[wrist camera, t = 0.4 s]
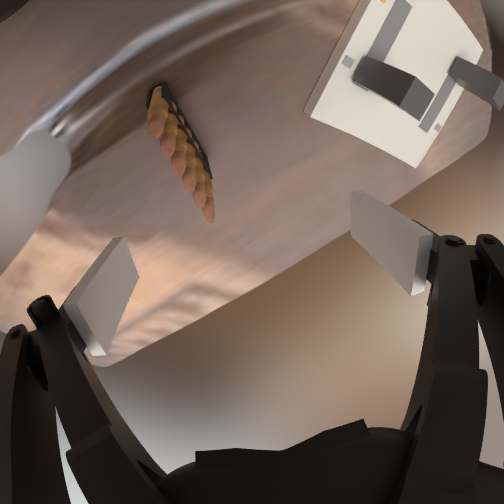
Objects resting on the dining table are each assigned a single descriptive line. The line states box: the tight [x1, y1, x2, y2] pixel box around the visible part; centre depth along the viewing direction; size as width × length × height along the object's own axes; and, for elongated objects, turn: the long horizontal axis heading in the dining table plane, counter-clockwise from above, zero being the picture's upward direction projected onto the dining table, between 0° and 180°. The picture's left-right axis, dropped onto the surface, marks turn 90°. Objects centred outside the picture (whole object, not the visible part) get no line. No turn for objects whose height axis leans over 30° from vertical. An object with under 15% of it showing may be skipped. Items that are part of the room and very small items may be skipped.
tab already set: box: [449, 57, 504, 110], centre depth 21 cm, size 4×4×8 cm
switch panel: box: [303, 0, 483, 168], centre depth 25 cm, size 26×22×2 cm
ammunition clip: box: [146, 82, 215, 224], centre depth 23 cm, size 11×2×12 cm, turn 20°
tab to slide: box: [353, 56, 435, 121], centre depth 21 cm, size 4×4×8 cm
